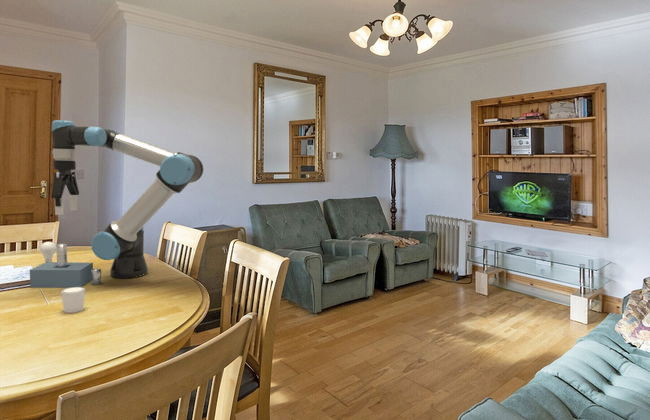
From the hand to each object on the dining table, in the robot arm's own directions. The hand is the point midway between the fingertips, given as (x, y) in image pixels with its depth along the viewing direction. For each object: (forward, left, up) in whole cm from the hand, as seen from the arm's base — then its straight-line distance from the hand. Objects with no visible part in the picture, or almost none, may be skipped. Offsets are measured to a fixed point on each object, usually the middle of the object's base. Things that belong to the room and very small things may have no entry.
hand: (66, 212), depth 165 cm
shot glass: (-17, +34, -29) cm, 47 cm away
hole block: (0, +4, -28) cm, 29 cm away
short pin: (-13, +5, -28) cm, 31 cm away
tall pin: (0, +4, -28) cm, 29 cm away
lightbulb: (+19, -24, -29) cm, 42 cm away
